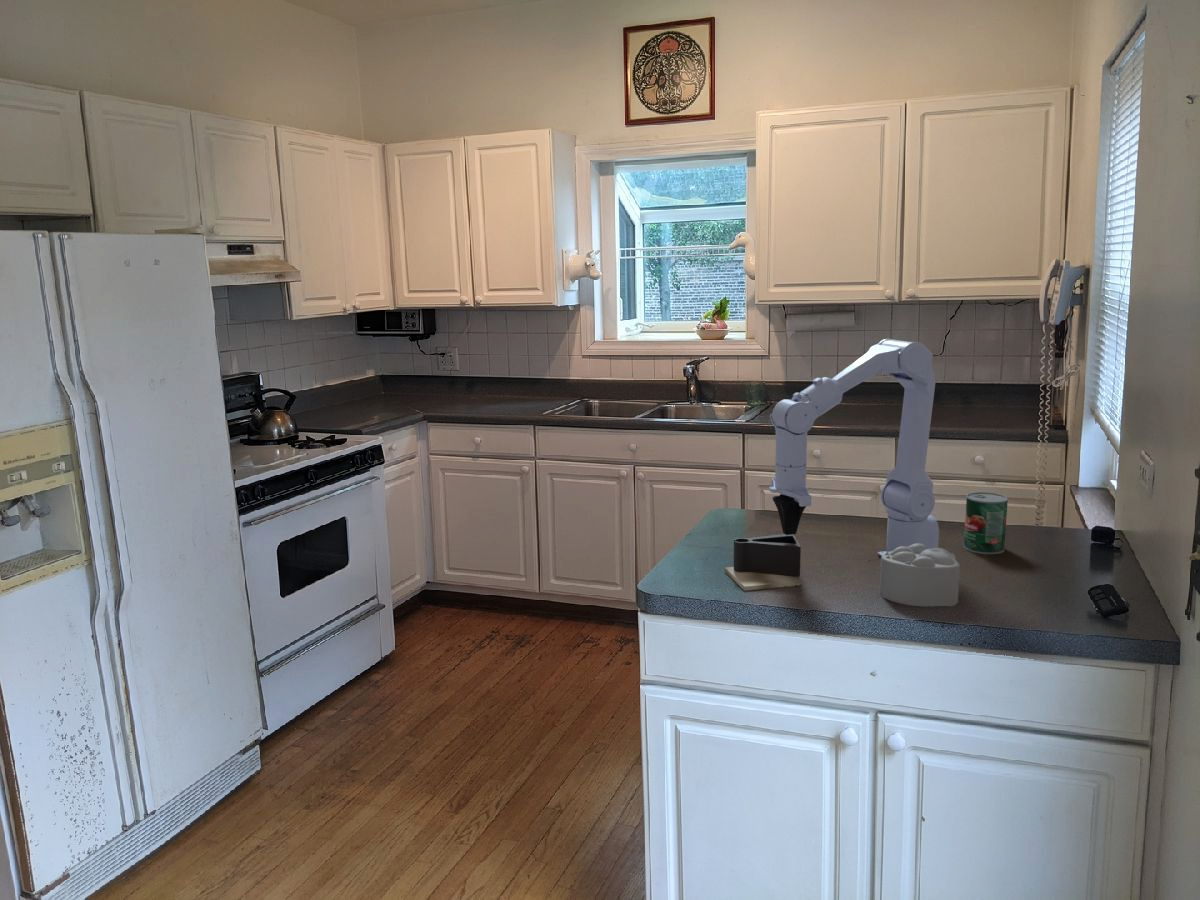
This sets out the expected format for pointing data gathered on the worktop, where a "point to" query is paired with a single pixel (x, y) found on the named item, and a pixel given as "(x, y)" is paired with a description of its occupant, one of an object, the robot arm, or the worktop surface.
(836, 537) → the worktop surface
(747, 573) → the birch board
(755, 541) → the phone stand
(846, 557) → the worktop surface
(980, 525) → the canned tomato
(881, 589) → the lumpy-topped squat cylinder
